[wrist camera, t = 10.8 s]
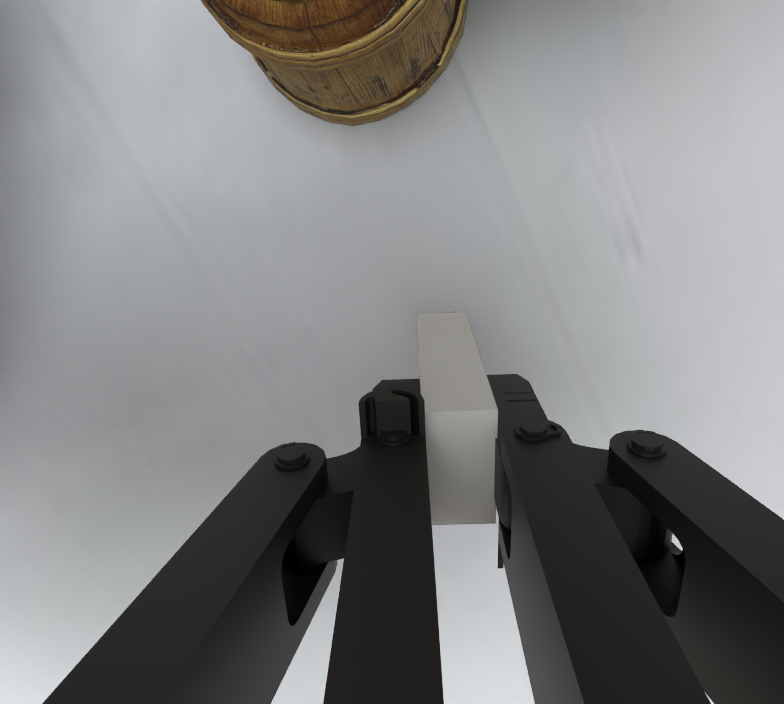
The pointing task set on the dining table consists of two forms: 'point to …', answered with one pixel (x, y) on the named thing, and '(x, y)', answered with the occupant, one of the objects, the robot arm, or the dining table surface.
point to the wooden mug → (346, 50)
